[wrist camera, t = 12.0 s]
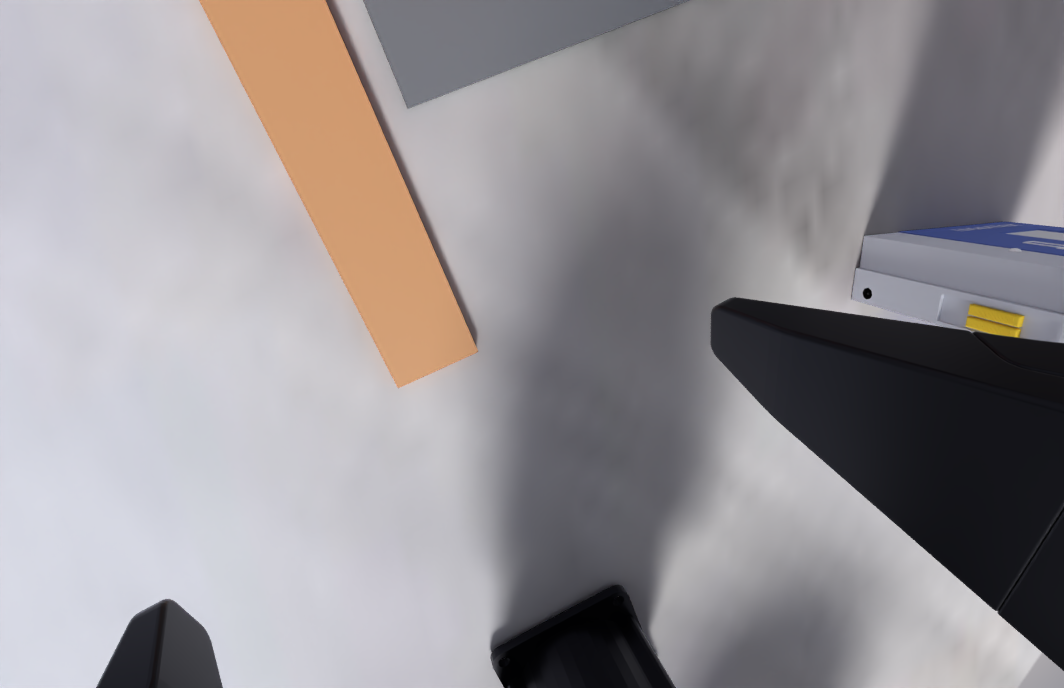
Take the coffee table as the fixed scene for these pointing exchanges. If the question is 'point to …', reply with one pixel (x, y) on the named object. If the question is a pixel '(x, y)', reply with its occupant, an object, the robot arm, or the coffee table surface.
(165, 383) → the coffee table surface
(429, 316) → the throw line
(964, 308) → the walkman
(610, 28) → the mat
